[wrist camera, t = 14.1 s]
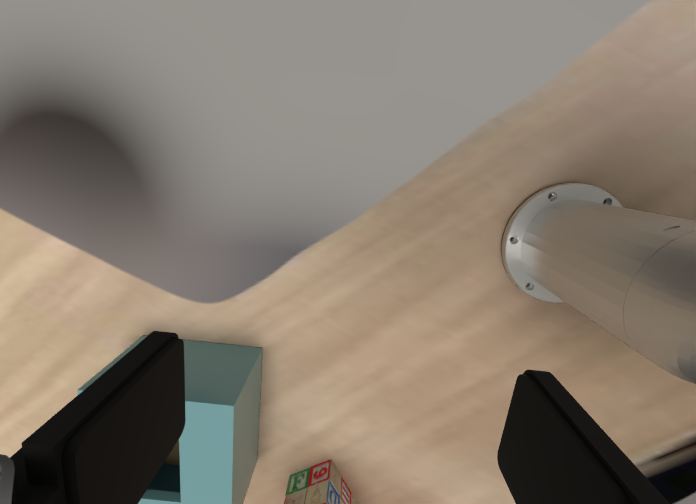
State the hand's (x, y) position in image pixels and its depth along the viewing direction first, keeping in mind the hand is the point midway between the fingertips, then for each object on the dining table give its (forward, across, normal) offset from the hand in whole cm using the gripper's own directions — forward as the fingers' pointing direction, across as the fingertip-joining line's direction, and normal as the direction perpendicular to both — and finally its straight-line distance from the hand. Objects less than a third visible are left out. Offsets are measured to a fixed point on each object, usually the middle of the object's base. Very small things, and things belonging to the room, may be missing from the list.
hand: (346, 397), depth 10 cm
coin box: (+28, +16, +24) cm, 40 cm away
